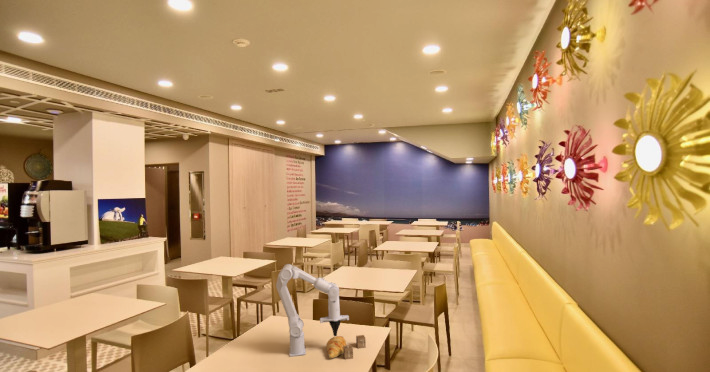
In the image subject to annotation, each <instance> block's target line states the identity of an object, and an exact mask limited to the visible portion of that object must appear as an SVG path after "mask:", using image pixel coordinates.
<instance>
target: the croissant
mask: <svg viewBox="0 0 710 372" xmlns="http://www.w3.org/2000/svg"><path fill="white" fill-rule="evenodd" d="M346 341H347V340H346V339H345V338H344V336H341V335H337V336H333V337H332V338H330V339H329V340H328V341H327V342H326V344H325V345H326V351H327V353H328V357H329V359H334V358H337V357H339V356H341V355H342V354H344V352H343V346H345V345H347V342H346Z"/></svg>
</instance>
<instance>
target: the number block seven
mask: <svg viewBox="0 0 710 372" xmlns="http://www.w3.org/2000/svg"><path fill="white" fill-rule="evenodd" d="M355 338H356V340H355V341H356V342H355V344H356V347H357V349H365V348H366V336H365V334H359V335H356V337H355Z"/></svg>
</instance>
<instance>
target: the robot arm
mask: <svg viewBox="0 0 710 372" xmlns="http://www.w3.org/2000/svg"><path fill="white" fill-rule="evenodd" d="M276 279H277V280H276V284H275V287H276V290H277V293H278V296H279V298H280V300H281V303H282V304H281V305H282V307H283V309H284V311H285V315H286V318H287V322H288V327H289V328H288V329H289V330H288V334H289V348H288V350H289V357H294V356H295V357H297V356H303V355H306V354H307V352H306V346H305V332H304V331H303V328H304V326H305V325H304V324H305V323H304V321H303V319H301V317H300V315H299V314H298V312H297V310H296V307H295V305H294V301H293V299H292V296H291V294H290V291H289V289H288V285H287V284H288V282H289V281H290V280H291V279H292V280H297V279H301V280H303V281H306V282H307V283H310V284H312V285H313V287H314V288H315V289H317V290H319V291H320V292H322V293H324V294H327V296H328V299H327V300H328V302H327V303H328V304H327V306H328V309H327V310H328V315H327V316H325V317H320V318H319V323H320V324H323V323H329V325H330V327H331V330H332V334H333V337H337V336H338V331H339V327H340V325H341V321H349V320H350V316H349V315H348V314H345V315H343V314H341V309H340V306H341V305H340V287H339V285H338V284H337V283H335V282H334V283H333V282H332V281H331V282H330V281H328V280H325V277H315V276H313V275H311V274H310V273H308V272H306V271H304V270H302V269H301V268H300V267H298V266H296V265H293V264H290V263H286V264H284V266H283V267H282V269H281V270H280V271H279V272H278V275H277V278H276Z"/></svg>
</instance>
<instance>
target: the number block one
mask: <svg viewBox="0 0 710 372" xmlns="http://www.w3.org/2000/svg"><path fill="white" fill-rule="evenodd" d="M353 349H354V348H353V346H352V344H346V345H345V346H343V352H344V353H343V358H344V360H345V361H346V360H351V359H354V350H353Z"/></svg>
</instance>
